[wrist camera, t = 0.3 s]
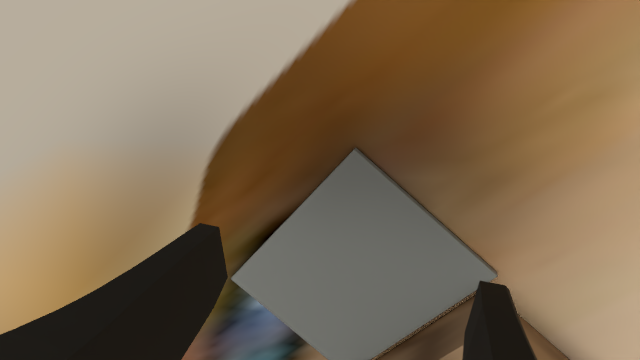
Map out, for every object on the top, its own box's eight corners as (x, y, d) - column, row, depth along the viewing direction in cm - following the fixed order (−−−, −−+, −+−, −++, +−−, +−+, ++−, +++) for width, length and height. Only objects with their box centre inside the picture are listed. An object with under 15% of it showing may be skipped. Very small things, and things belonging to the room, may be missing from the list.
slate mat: (347, 371, 28) (346, 375, 28) (232, 275, 28) (230, 278, 27) (497, 272, 22) (497, 276, 22) (355, 147, 22) (354, 149, 21)
